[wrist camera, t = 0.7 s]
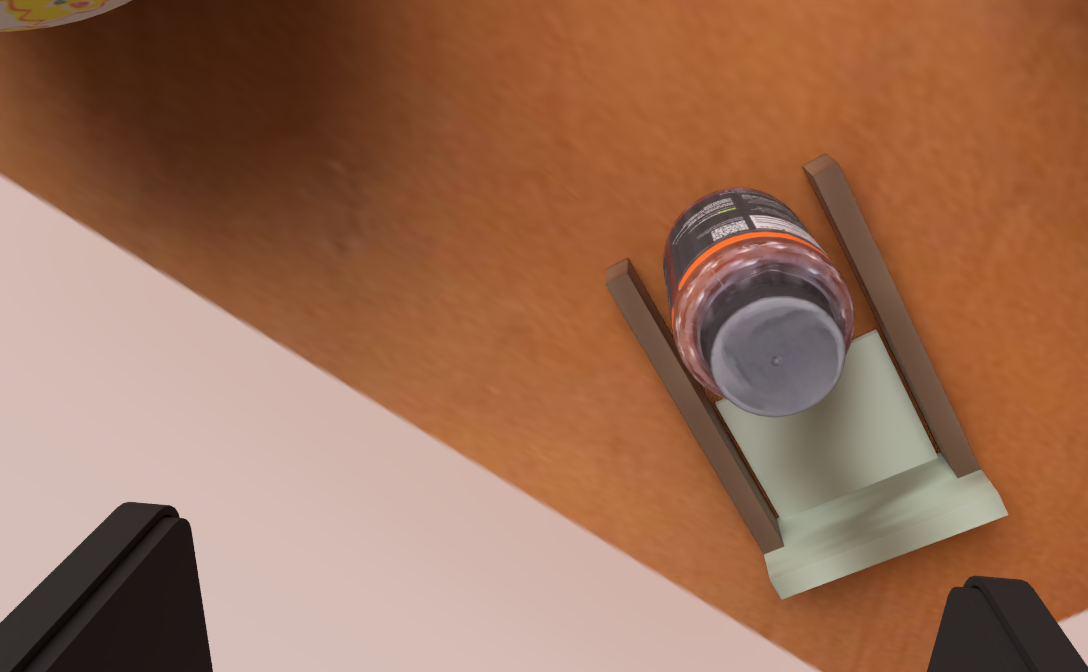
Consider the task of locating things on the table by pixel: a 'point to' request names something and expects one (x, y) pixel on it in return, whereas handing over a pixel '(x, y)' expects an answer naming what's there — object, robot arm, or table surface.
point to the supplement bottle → (756, 303)
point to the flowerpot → (50, 12)
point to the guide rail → (834, 433)
